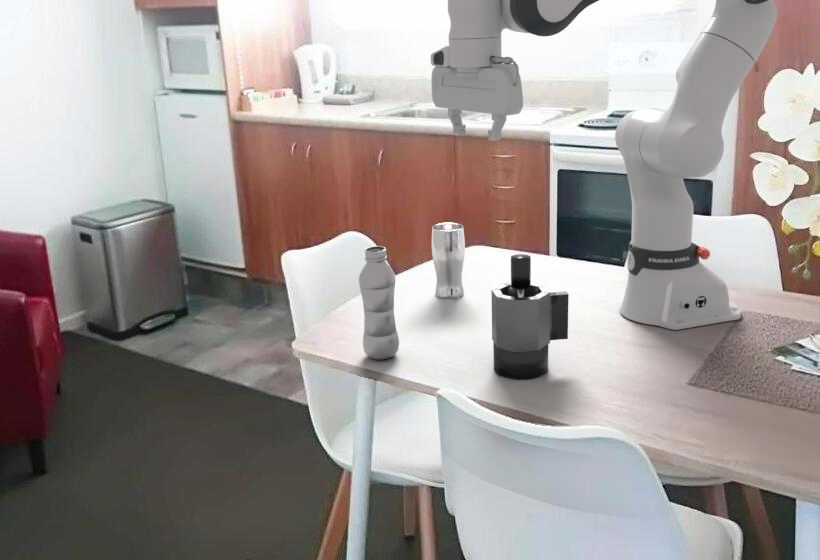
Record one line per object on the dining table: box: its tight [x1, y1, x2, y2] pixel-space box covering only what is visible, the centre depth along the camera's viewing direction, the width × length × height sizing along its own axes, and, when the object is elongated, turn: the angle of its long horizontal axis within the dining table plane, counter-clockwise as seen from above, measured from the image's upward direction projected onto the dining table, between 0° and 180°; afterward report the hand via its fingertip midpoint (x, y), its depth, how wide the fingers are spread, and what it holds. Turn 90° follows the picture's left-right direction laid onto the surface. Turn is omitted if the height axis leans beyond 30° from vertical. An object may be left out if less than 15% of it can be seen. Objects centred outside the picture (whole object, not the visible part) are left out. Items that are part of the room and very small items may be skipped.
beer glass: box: [431, 222, 466, 300], centre depth 180 cm, size 7×7×15 cm
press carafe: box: [491, 281, 569, 381], centre depth 143 cm, size 12×9×14 cm
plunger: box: [510, 253, 532, 298], centre depth 141 cm, size 5×5×14 cm
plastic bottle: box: [358, 245, 400, 360], centre depth 150 cm, size 6×7×20 cm
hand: (476, 137), depth 149 cm, fingers open, 8 cm apart
